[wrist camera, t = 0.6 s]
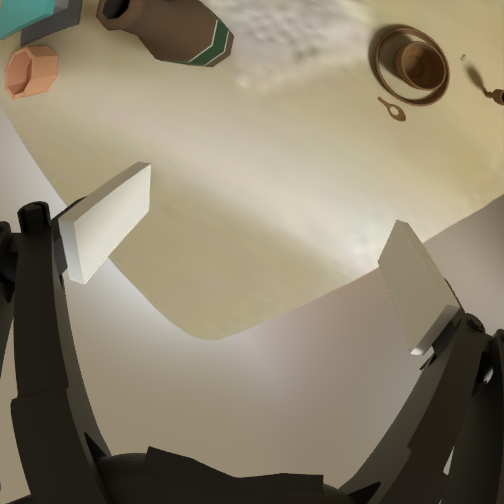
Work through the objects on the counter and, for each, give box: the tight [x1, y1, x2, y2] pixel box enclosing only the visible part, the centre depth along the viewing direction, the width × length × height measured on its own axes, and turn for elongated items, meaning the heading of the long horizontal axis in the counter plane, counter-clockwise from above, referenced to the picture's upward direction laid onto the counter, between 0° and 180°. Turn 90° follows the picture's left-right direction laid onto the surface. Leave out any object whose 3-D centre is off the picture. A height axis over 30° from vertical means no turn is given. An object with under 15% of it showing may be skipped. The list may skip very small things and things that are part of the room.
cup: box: [5, 46, 58, 100], centre depth 31 cm, size 9×9×6 cm
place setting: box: [375, 28, 504, 121], centre depth 28 cm, size 18×20×6 cm
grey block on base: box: [20, 0, 82, 46], centre depth 23 cm, size 14×16×6 cm
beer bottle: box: [96, 0, 234, 67], centre depth 22 cm, size 8×8×24 cm
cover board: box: [0, 0, 55, 40], centre depth 20 cm, size 11×14×2 cm
